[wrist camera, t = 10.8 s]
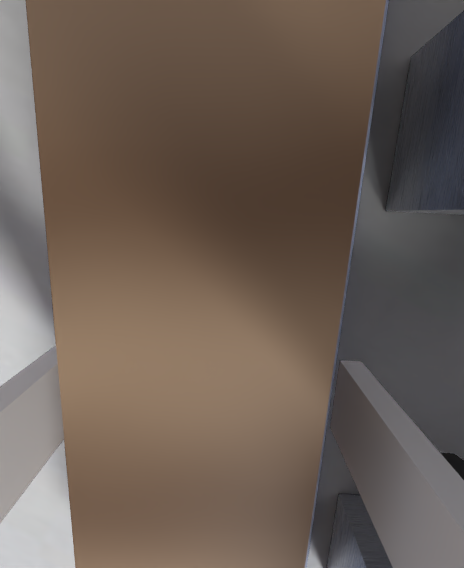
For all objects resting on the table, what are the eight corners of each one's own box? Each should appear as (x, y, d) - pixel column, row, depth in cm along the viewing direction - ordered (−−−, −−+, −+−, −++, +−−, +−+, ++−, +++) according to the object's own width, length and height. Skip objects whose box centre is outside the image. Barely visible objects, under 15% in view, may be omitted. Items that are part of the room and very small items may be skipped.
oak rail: (251, 606, 15) (263, 855, 9) (152, 601, 15) (100, 848, 9) (310, -17, 9) (447, -429, 3) (145, -27, 9) (-15, -460, 3)
